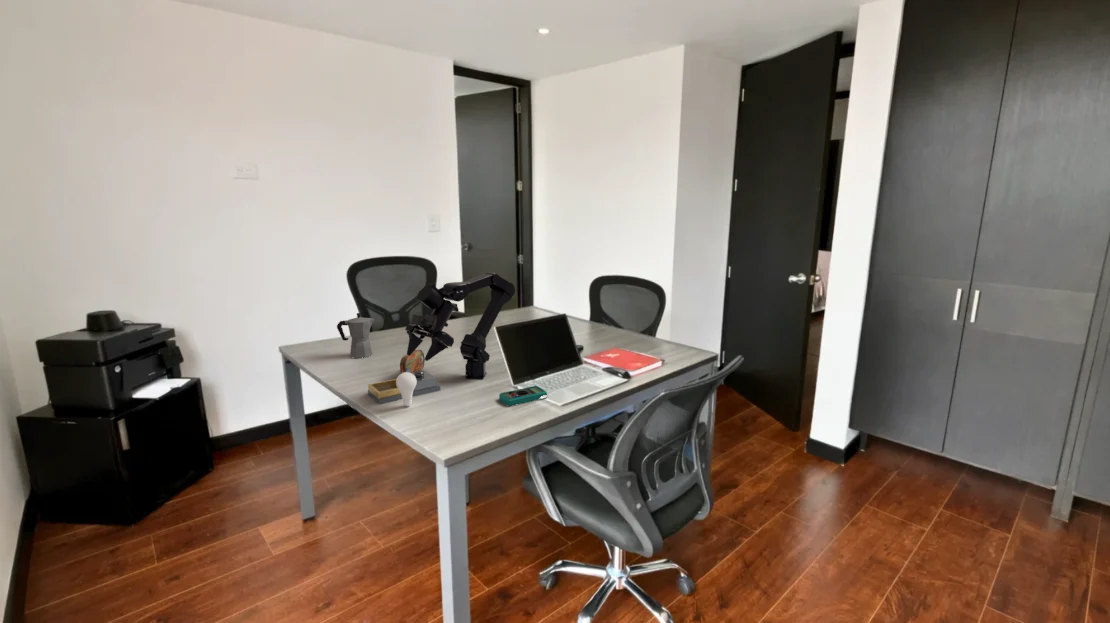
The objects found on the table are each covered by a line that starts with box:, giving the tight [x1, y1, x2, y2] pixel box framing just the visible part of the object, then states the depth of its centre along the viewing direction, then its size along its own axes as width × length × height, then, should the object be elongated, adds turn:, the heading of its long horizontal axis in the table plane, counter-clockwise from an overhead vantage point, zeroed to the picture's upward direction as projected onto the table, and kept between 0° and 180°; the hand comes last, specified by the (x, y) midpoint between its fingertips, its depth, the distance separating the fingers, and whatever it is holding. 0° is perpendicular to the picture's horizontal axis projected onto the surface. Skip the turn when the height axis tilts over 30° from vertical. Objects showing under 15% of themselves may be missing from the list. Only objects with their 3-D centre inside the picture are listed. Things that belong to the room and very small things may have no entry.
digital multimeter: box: [498, 385, 548, 407], centre depth 166 cm, size 7×15×3 cm, turn 122°
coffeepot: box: [336, 312, 376, 359], centre depth 208 cm, size 15×9×18 cm, turn 129°
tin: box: [399, 349, 426, 374], centre depth 188 cm, size 15×3×8 cm, turn 168°
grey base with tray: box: [367, 369, 441, 405], centre depth 170 cm, size 21×11×6 cm, turn 128°
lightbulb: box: [396, 372, 417, 407], centre depth 157 cm, size 6×6×11 cm
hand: (416, 357), depth 164 cm, fingers open, 9 cm apart
